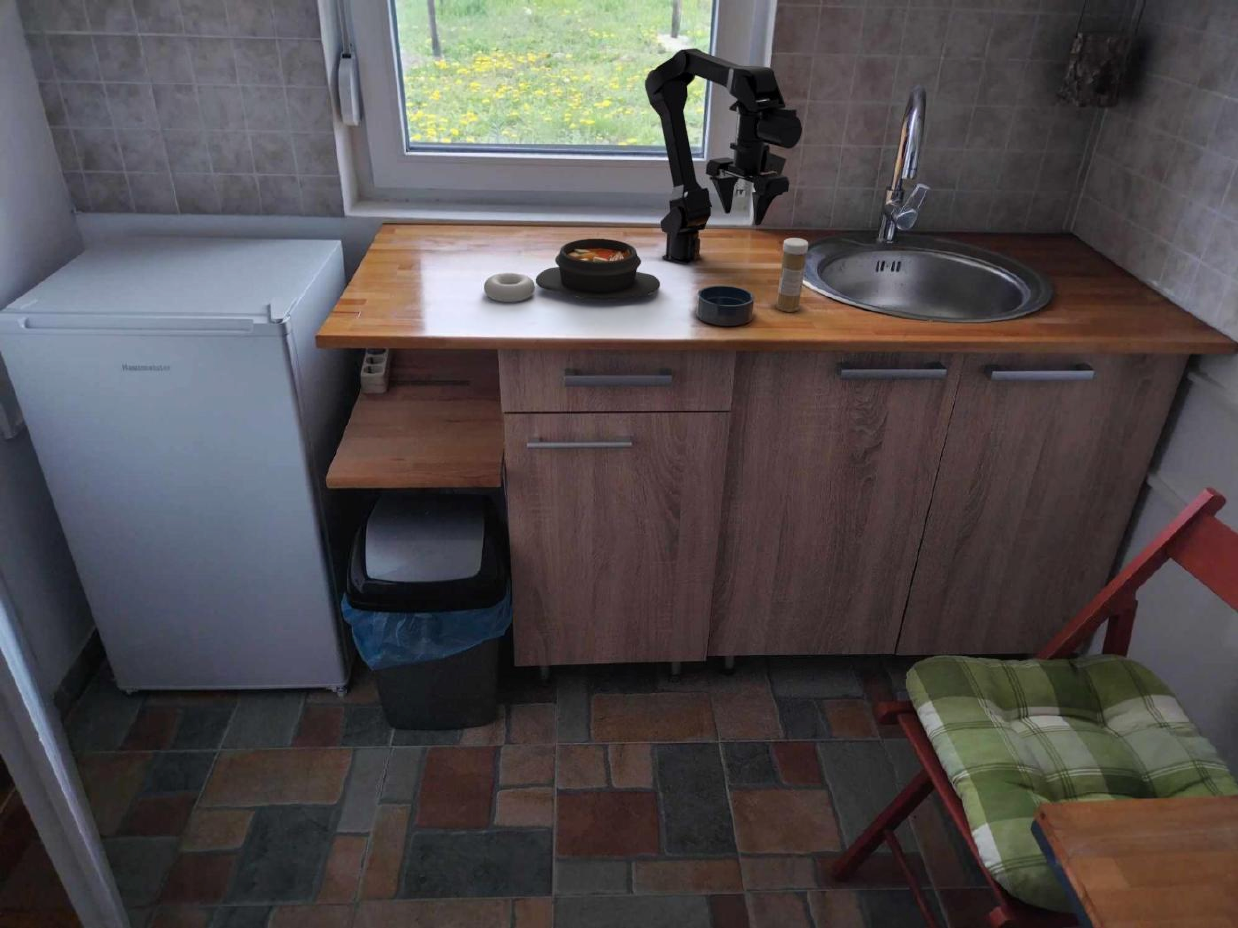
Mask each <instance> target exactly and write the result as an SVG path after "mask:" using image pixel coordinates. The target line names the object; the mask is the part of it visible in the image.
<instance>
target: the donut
mask: <svg viewBox="0 0 1238 928" xmlns="http://www.w3.org/2000/svg"><path fill="white" fill-rule="evenodd" d="M483 290H484V293H485V295H486V296H487V297H488V298H490V299H492V300H494V301H497V302H501V303H515V302H516V303H517V302H521V301H525V300H527V299H529V298H531V296H533V294H534V292H535V290H536V285H535V281H534V280H533V279H532V278H531V277H529V276H528V275H526V274H523V273H519V272H500V273H496V274H493V275H491V276H489V277H488V278H487V279H486V280H485V282H484V283H483Z"/></svg>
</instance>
